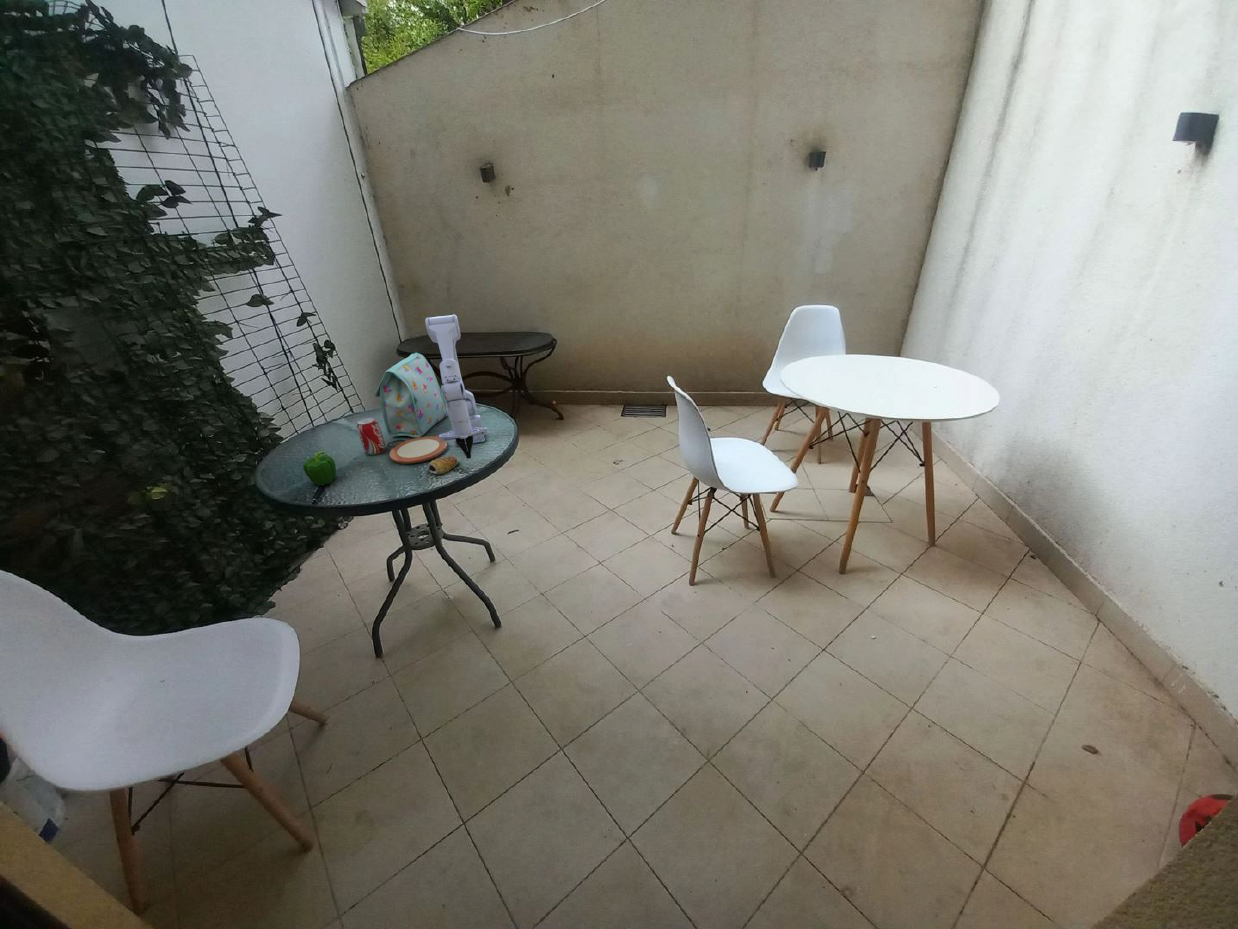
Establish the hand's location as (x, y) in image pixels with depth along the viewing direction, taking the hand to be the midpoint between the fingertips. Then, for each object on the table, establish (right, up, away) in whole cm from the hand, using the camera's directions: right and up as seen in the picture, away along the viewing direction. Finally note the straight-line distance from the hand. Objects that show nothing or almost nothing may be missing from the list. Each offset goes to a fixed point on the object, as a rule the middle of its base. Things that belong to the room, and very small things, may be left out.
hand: (469, 457), depth 156 cm
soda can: (-37, +2, +13) cm, 40 cm away
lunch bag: (-29, +12, +31) cm, 44 cm away
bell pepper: (-44, -8, -4) cm, 45 cm away
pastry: (-8, -4, -1) cm, 9 cm away
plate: (-21, +2, +11) cm, 24 cm away
